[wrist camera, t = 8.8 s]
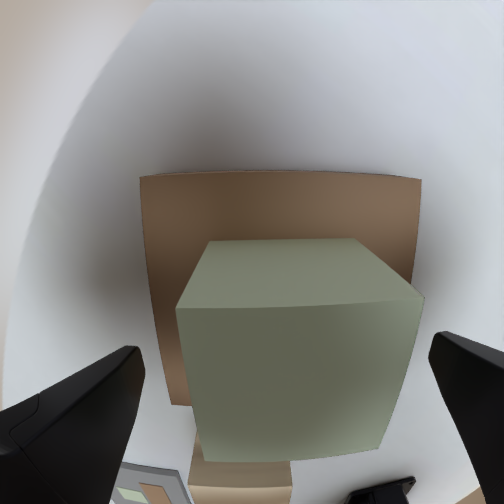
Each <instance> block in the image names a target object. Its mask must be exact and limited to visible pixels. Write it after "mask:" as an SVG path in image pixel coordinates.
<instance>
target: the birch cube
mask: <svg viewBox="0 0 504 504" xmlns="http://www.w3.org/2000/svg"><path fill="white" fill-rule="evenodd" d="M187 485H188V488H189V490H190V493H191V496H192V498H193V501H194V503H195V504H289V502H290V497H291V492H292V477H291V468H290V461H277V462H212V461H205V460H204V456H203V452H202V447H201V443H200V439H199V435H198V430H197V433H196V439H195V444H194V450H193V455H192V461H191V467H190V472H189V478H188V484H187Z"/></svg>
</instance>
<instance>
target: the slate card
mask: <svg viewBox="0 0 504 504" xmlns="http://www.w3.org/2000/svg"><path fill="white" fill-rule="evenodd" d="M111 499H112V500H113V501H114V502H115V504H191V503H190V500H189V498H188V496H187V493H186V491H185V488H184V486H183V484H182V481H181V479H180V476H179V473H178V471H175V470H166V469H159V468H152V467H146V466H140V465H134V464H129V463H124V462H121V466H120V469H119V472H118V475H117V479H116V482H115V485H114V489H113V492H112V496H111Z"/></svg>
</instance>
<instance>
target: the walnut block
mask: <svg viewBox="0 0 504 504" xmlns="http://www.w3.org/2000/svg"><path fill="white" fill-rule="evenodd" d="M421 180H422V179H415V178H408V177H401V176H394V175H382V174H367V173H350V172H329V171H291V170H245V171H207V172H185V173H168V174H157V175H150V176H144V177H140V194H141V210H142V223H143V234H144V245H145V254H146V263H147V272H148V279H149V287H150V294H151V301H152V308H153V314H154V320H155V326H156V332H157V338H158V343H159V349H160V354H161V359H162V364H163V369H164V374H165V378H166V383H167V388H168V392H169V396H170V401H171V405H183V406H192V403H191V398H190V393H189V388H188V383H187V377H186V372H185V366H184V361H183V355H182V349H181V343H180V337H179V330H178V324H177V317H176V310H175V308H176V306H177V304H178V302H179V300H180V298H181V296H182V294H183V292H184V290H185V288H186V286H187V284H188V282H189V280H190V278H191V276H192V274H193V272H194V270H195V268H196V266H197V264H198V262H199V260H200V258H201V256H202V255H203V253H204V251H205V249H206V247H207V245H208V243H209V241H229V240H272V239H325V238H355V239H356V240H357V241H359V242H360V243H361V244H362V245H364V246H365V247H366V248H367V249H369V250H370V251H371V252H372V253H373V254H375V255H376V256H377V257H378V258H379V259H381V260H382V261H383V262H384V263H386V264H387V265H388V266H389V267H390V268H391V269H393V270H394V271H395V272H396V273H397V274H399V275H400V276H401V277H402V278H403V279H404V280H406V281H407V282H408V283H409V284H411V278H412V272H413V265H414V258H415V251H416V243H417V234H418V224H419V213H420V199H421Z"/></svg>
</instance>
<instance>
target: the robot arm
mask: <svg viewBox="0 0 504 504" xmlns="http://www.w3.org/2000/svg"><path fill="white" fill-rule="evenodd" d="M428 359H429V363H430V366H431V368H432V371H433V373H434V376H435V378H436V381H437V384H438V387H439V389H440V392H441V395H442V397H443V399H444V402H445V404H446V406H447V408H448V410H449V412H450V414H451V416H452V419H453V421H454V423H455V425H456V427H457V430H458V432H459V434H460V436H461V439H462V441H463V443H464V446H465V448H466V450H467V453H468V455H469V458H470V460H471V463H472V465H473V468H474V470H475V473H476V476H477V478H478V481H479V484H480V486H481V489H482V492H483V494H484V497H485V501H486V504H504V352H502V351H499V350H497V349H494V348H491V347H488V346H486V345H483V344H480V343H478V342H475V341H472V340H470V339H467V338H464V337H461V336H459V335H456V334H453V333H451V332H448V331H443V332H437V333H436V334H435V335H434V337H433V341H432V344H431V348H430V351H429V356H428ZM144 379H145V367H144V363H143V359H142V355H141V351H140V348H139V347H138V346H128V345H126V346H124V347H122V348H120V349H118V350H116V351H115V352H113V353H111V354H109V355H107V356H106V357H104V358H102V359H100V360H98V361H97V362H95V363H93V364H91V365H89V366H87V367H86V368H84V369H82V370H80V371H78V372H76V373H75V374H73V375H71V376H69V377H67V378H65V379H64V380H62V381H60V382H58V383H56V384H54V385H53V386H51V387H49V388H47V389H45V390H43V391H41V392H40V394H39V393H37V394H36V395H34V396H32V397H30V398H28V399H26V400H24V401H22V402H20V403H18V404H16V405H14V406H12V407H9V408H7V409H5V410H3V411H0V504H109V502H110V499H111V496H112V492H113V489H114V485H115V482H116V479H117V475H118V472H119V469H120V466H121V462H122V459H123V456H124V453H125V450H126V447H127V444H128V441H129V438H130V435H131V432H132V429H133V426H134V422H135V419H136V416H137V411H138V407H139V402H140V397H141V392H142V388H143V383H144ZM415 482H416V479H415V477H412V478H409V479H405V480H402V481H398V482H395V483H391V484H387V485H383V486H379V487H375V488H370V489H366V490H361V491H356V492H353V493H351V494H350V495H349V497H348V499H347V501H346V503H345V504H409V502H408V500H407V497H406V495H407V493H408V492H409V491H410V489H411V488H412V486H413V485H414V484H415Z"/></svg>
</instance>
